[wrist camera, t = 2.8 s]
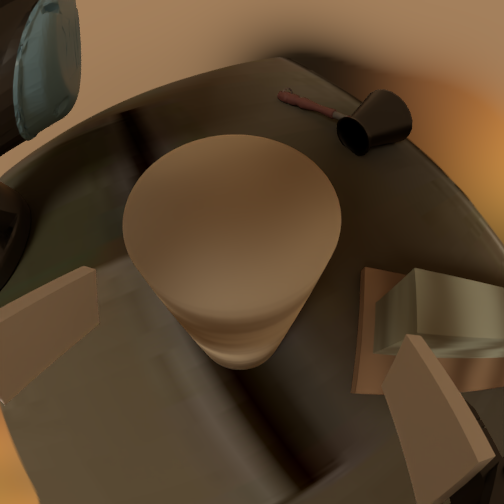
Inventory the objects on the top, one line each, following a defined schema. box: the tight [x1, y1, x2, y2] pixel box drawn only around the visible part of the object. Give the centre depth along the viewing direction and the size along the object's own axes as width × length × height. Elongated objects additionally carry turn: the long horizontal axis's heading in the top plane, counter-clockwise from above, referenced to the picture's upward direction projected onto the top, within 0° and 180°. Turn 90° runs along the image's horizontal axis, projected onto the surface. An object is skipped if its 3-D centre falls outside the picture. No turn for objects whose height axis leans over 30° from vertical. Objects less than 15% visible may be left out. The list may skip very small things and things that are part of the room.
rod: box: [123, 135, 341, 370], centre depth 13 cm, size 6×6×14 cm
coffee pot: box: [277, 88, 412, 156], centre depth 31 cm, size 8×18×8 cm
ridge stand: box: [351, 267, 504, 395], centre depth 15 cm, size 21×10×7 cm, turn 78°
